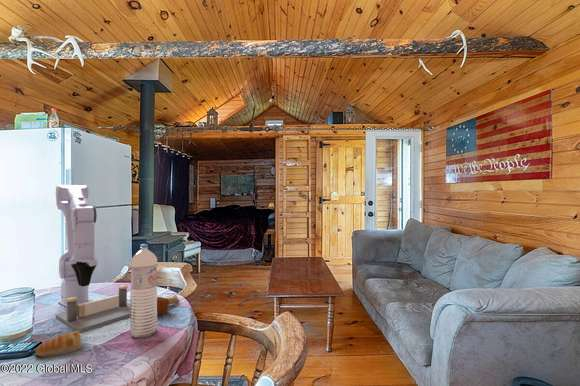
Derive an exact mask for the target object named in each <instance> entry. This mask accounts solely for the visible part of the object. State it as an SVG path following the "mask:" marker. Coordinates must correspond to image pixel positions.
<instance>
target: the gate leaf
mask: <svg viewBox="0 0 580 386" xmlns="http://www.w3.org/2000/svg"><path fill="white" fill-rule="evenodd" d="M118 306H119V294H115V295H111V296H108V297H103V298H99V299H95V300H93V301H91V302H87V303H81V304H77V317H79V318H80V317H84V316H86V315H89V314H93V313H97V312H100V311H104V310H107V309H111V308H114V307H118Z"/></svg>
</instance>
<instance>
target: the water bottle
mask: <svg viewBox="0 0 580 386" xmlns="http://www.w3.org/2000/svg"><path fill="white" fill-rule="evenodd" d="M148 247H149V245H148V244H147V243H142V244H140V249H139V250H138V251H137V252H135V254H134V255H133V256H132V258H130V290H129V291H130V295H129V296H130V302H129V303H130V304H131V306H130V307H131V309H130V311H131V312H130V314H131V316H130V317H129V318H130V319H129V321H130V336H131V337H132V338H136V339H144V338H148V337H151V336H153V335H154V334H156V332H157V328H158V316H157V297H158V285H157V284H158V282H157V281H158V280H157V279H158V276H157V275H158V271H157V268H158V267H157V266H158V258H157V256H156V255H155V253H154V252H152V251H151V250H149V249H148Z"/></svg>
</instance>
